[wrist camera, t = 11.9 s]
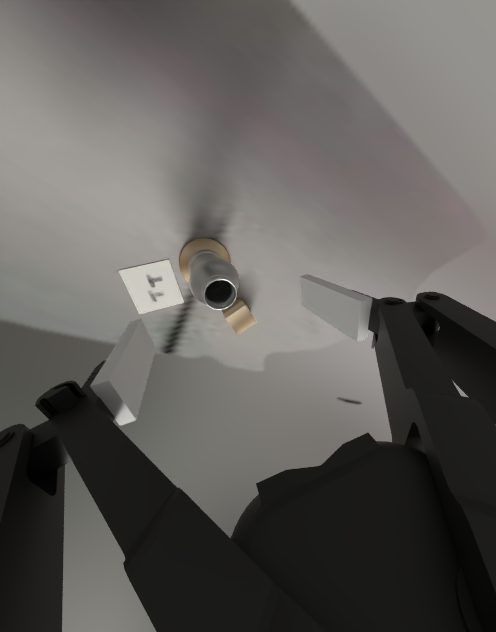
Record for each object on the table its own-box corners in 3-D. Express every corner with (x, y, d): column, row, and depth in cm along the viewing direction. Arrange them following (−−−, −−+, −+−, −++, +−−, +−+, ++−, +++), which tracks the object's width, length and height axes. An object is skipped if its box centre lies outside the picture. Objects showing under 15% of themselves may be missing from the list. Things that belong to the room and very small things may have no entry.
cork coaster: (172, 244, 36) (171, 244, 35) (223, 233, 37) (224, 233, 37) (188, 294, 40) (188, 294, 39) (234, 282, 42) (235, 283, 41)
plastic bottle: (182, 254, 36) (176, 276, 19) (216, 243, 37) (241, 255, 19) (195, 285, 39) (200, 330, 22) (226, 275, 40) (256, 310, 22)
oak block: (221, 309, 44) (225, 318, 39) (239, 297, 44) (245, 304, 39) (233, 325, 46) (238, 335, 41) (250, 313, 46) (257, 322, 42)
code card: (118, 270, 35) (118, 270, 35) (168, 259, 36) (168, 259, 36) (139, 314, 39) (139, 314, 39) (184, 302, 40) (184, 302, 40)
